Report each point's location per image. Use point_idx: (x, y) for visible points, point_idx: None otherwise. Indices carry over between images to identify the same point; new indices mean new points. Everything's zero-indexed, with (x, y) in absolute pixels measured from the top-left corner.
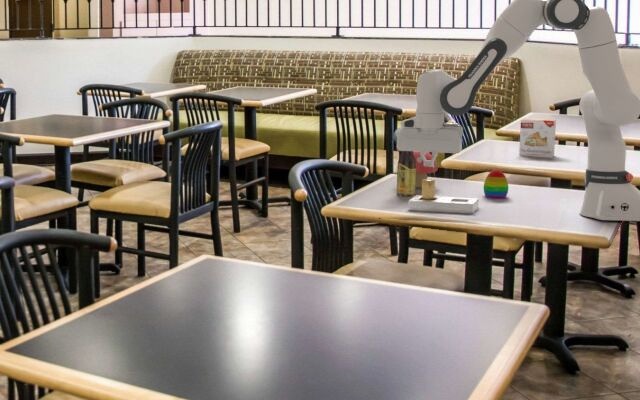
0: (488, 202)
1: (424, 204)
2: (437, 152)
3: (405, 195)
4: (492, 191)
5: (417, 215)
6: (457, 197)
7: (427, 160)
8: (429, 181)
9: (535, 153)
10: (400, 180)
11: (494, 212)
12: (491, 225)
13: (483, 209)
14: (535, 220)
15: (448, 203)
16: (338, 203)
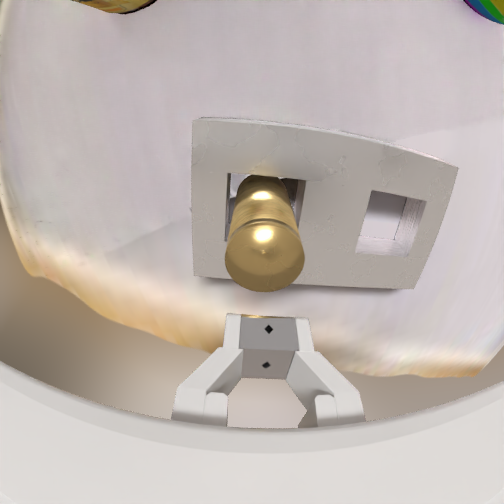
0: (465, 46)
1: None
2: (361, 421)
3: (133, 8)
4: (489, 13)
5: None
6: (392, 152)
7: (252, 358)
8: (273, 288)
9: None
10: (76, 1)
11: (458, 233)
12: (395, 365)
13: None
14: (483, 303)
15: (343, 285)
16: (5, 196)
